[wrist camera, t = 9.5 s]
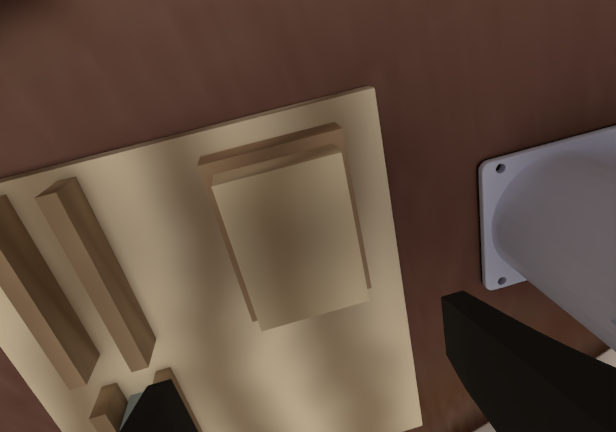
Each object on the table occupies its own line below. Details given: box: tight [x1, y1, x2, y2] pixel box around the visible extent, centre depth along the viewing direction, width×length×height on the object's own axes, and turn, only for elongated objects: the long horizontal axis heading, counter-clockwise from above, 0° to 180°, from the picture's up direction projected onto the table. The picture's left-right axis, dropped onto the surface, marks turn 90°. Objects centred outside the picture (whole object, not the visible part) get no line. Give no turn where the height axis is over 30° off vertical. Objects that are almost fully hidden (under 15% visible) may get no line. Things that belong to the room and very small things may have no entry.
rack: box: [0, 86, 422, 432], centre depth 21 cm, size 20×22×3 cm
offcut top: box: [211, 143, 370, 332], centre depth 17 cm, size 5×7×2 cm
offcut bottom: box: [197, 122, 372, 322], centre depth 18 cm, size 6×8×2 cm
